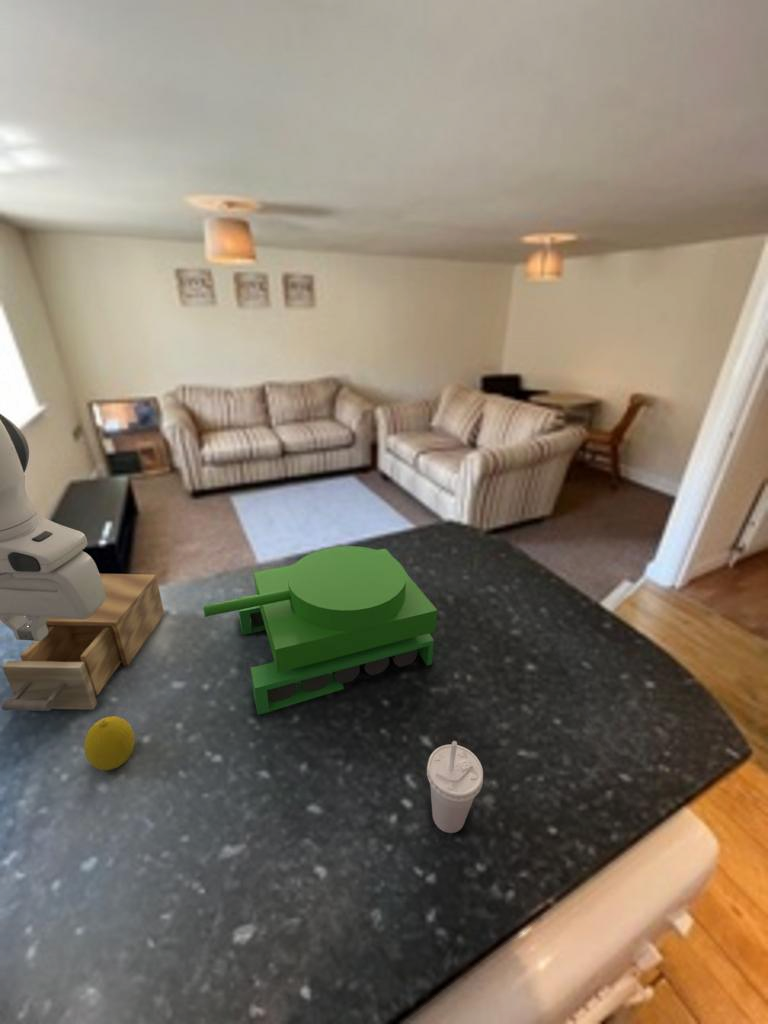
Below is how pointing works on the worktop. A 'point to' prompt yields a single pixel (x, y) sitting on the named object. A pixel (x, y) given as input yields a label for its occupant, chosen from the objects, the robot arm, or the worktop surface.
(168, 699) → the worktop surface
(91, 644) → the drawer
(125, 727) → the lemon
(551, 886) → the worktop surface
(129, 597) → the cabinet
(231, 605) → the tank
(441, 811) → the smoothie
